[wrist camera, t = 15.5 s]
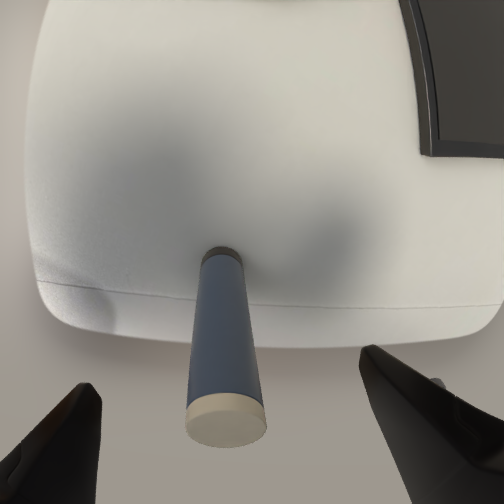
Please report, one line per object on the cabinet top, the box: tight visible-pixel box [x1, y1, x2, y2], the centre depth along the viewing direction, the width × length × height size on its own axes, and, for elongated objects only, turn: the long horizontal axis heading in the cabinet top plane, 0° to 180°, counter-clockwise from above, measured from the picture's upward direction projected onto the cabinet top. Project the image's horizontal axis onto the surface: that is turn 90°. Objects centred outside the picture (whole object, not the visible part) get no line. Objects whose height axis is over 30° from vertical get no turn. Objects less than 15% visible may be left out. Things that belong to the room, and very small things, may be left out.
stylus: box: [185, 247, 267, 448], centre depth 11 cm, size 2×2×10 cm
